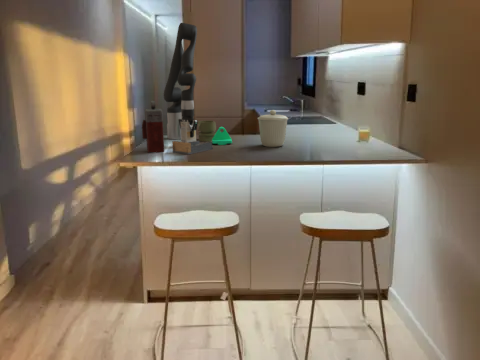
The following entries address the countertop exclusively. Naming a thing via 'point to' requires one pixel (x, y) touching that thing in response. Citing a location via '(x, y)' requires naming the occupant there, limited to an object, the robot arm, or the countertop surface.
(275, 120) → the canister
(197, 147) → the rail
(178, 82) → the robot arm
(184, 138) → the supplement box
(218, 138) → the camera mount
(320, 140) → the countertop surface
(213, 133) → the piston
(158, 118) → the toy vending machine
